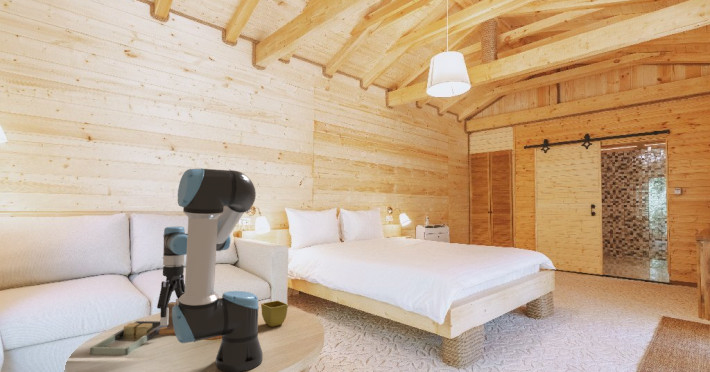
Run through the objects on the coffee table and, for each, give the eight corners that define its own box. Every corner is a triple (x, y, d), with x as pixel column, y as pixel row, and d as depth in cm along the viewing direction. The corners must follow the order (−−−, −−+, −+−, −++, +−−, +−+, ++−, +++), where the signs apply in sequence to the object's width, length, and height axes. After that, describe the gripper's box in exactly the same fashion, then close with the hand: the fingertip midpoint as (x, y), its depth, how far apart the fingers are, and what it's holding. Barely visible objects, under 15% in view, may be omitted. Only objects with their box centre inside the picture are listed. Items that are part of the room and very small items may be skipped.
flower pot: (277, 319, 169) (278, 300, 169) (288, 325, 162) (288, 304, 163) (260, 324, 163) (260, 303, 163) (270, 329, 156) (270, 308, 157)
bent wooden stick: (180, 337, 147) (181, 304, 147) (159, 337, 147) (160, 303, 147) (183, 334, 150) (184, 302, 150) (162, 334, 150) (163, 302, 150)
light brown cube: (146, 337, 144) (146, 326, 144) (136, 337, 144) (136, 326, 144) (152, 333, 148) (152, 323, 148) (142, 333, 148) (142, 323, 148)
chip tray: (127, 357, 128) (127, 348, 128) (89, 356, 128) (90, 348, 128) (146, 343, 140) (147, 335, 140) (112, 343, 140) (112, 335, 140)
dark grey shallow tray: (146, 343, 140) (147, 335, 140) (112, 343, 140) (112, 335, 140) (167, 328, 156) (167, 321, 156) (136, 328, 156) (136, 321, 156)
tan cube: (133, 337, 144) (134, 326, 144) (123, 337, 144) (123, 326, 144) (139, 333, 148) (139, 323, 148) (129, 333, 148) (129, 323, 148)
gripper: (178, 260, 161) (176, 310, 160) (147, 271, 137) (146, 330, 136) (195, 260, 161) (194, 310, 161) (168, 271, 137) (166, 330, 137)
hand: (172, 319), depth 148 cm, fingers open, 12 cm apart
